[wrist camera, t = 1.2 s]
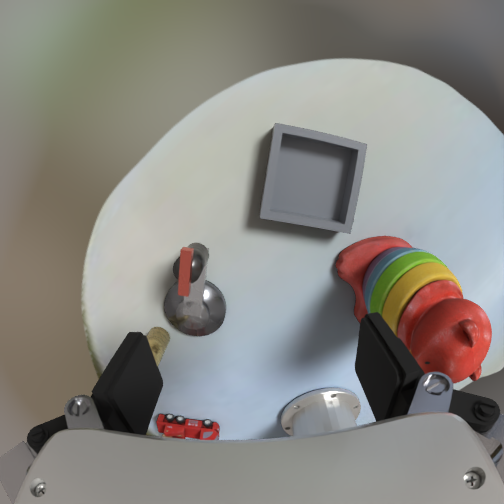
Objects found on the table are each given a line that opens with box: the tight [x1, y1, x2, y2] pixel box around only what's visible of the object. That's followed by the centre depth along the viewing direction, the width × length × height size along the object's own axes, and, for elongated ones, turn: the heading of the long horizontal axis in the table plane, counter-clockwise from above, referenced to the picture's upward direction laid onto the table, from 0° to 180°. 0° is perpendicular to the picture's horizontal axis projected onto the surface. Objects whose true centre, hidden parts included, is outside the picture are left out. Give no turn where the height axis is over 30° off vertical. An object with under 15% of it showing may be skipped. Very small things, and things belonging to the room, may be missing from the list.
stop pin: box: [147, 327, 170, 367], centre depth 29 cm, size 3×3×8 cm
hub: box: [164, 280, 226, 336], centre depth 31 cm, size 7×7×1 cm
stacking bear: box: [336, 236, 492, 383], centre depth 22 cm, size 11×10×18 cm
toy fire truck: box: [156, 414, 220, 440], centre depth 33 cm, size 3×14×10 cm, turn 85°
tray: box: [259, 123, 367, 234], centre depth 26 cm, size 9×9×3 cm
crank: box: [173, 243, 210, 330], centre depth 26 cm, size 11×4×6 cm, turn 171°
